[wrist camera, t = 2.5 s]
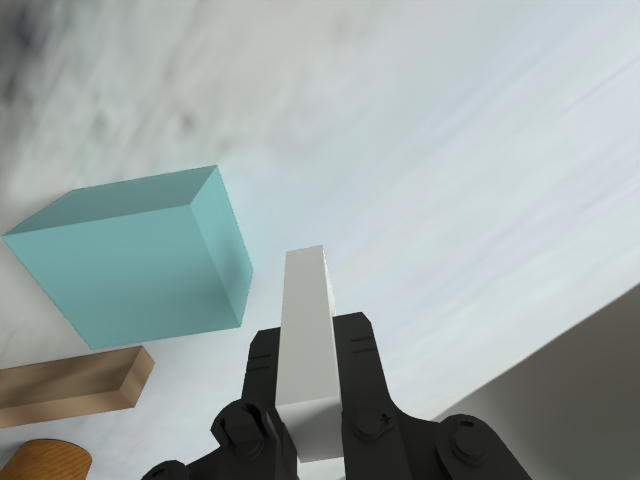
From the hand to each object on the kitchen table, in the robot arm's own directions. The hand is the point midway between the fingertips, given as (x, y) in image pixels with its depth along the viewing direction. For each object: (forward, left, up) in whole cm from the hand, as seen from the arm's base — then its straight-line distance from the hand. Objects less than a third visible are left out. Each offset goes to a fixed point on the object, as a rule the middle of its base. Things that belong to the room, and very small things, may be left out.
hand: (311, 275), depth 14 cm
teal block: (+8, 0, -6) cm, 10 cm away
